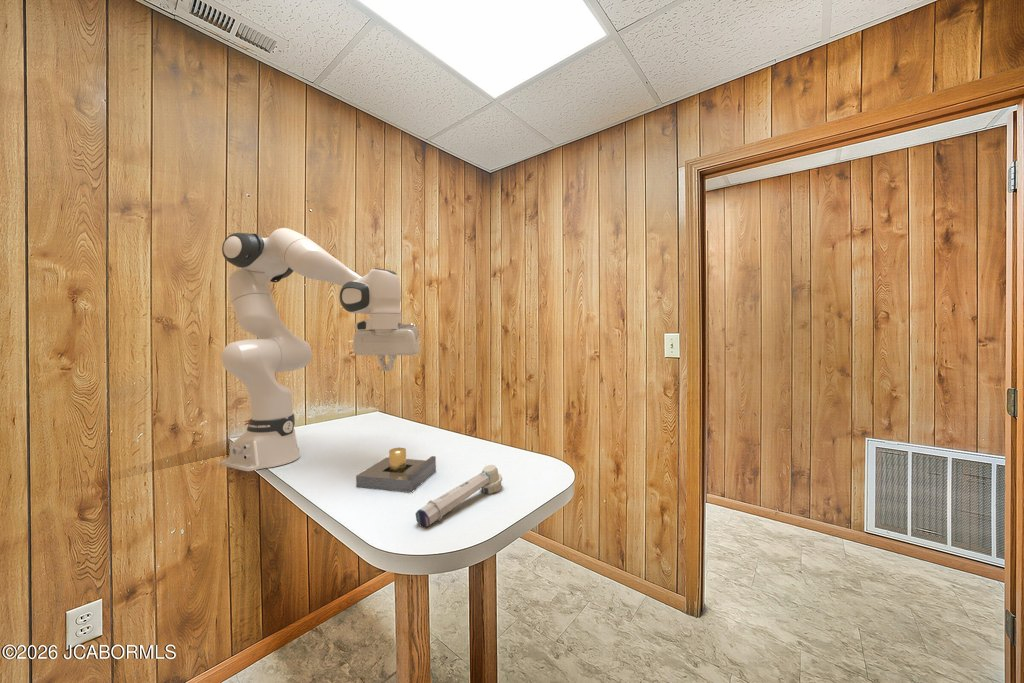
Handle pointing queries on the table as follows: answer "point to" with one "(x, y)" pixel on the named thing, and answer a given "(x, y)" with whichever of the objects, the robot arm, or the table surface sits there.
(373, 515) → the table surface
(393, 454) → the gold metallic cylinder
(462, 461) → the table surface
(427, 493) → the table surface
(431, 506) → the beige piece
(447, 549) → the table surface
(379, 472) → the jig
